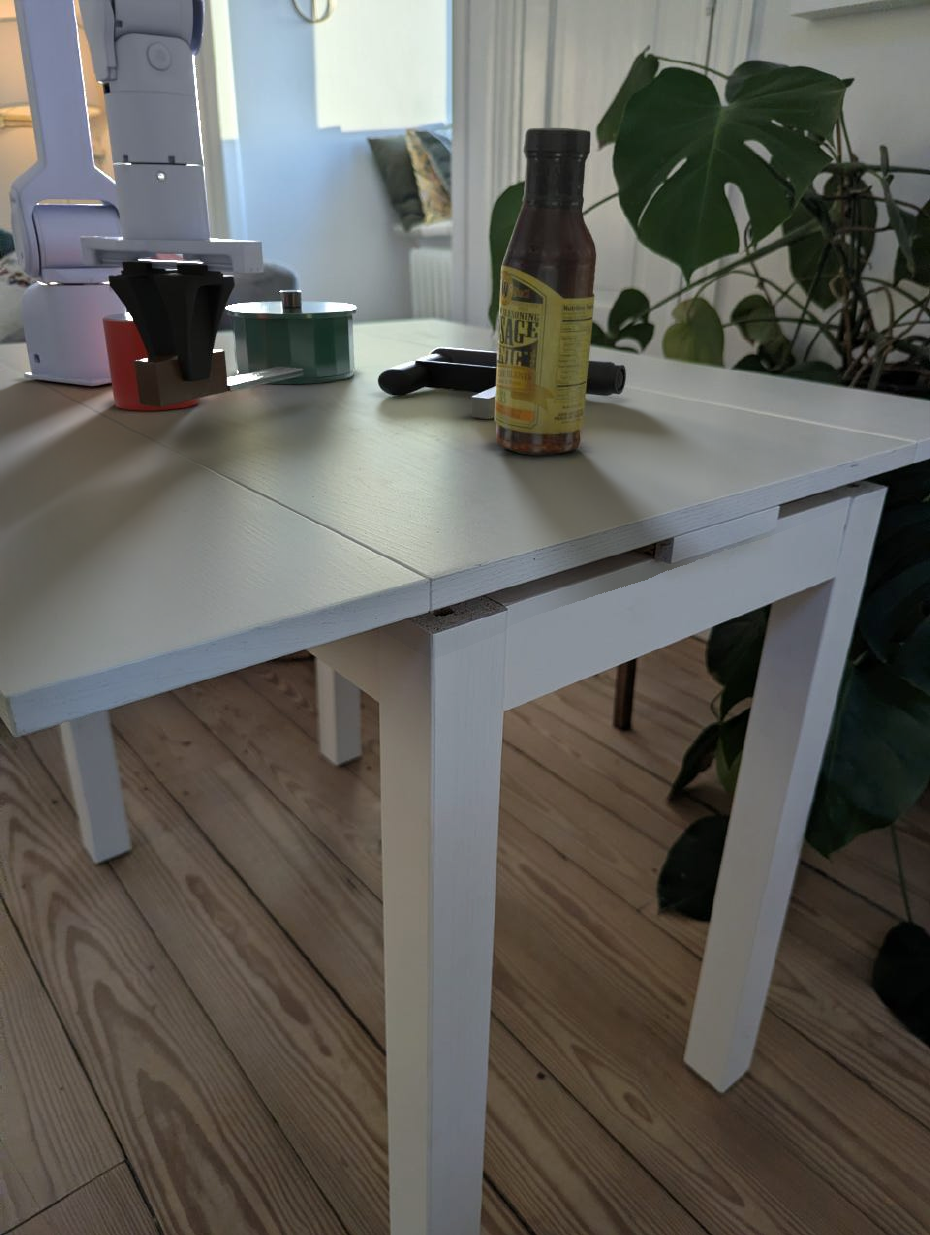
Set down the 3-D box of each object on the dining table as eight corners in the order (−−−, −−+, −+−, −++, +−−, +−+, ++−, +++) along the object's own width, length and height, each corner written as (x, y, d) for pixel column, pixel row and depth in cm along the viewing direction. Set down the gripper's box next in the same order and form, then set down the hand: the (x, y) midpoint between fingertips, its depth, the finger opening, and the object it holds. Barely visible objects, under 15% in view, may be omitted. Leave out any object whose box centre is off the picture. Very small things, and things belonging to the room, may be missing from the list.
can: (96, 405, 76) (82, 317, 73) (157, 392, 82) (147, 310, 79) (158, 413, 73) (147, 322, 71) (217, 400, 79) (209, 314, 76)
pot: (212, 377, 90) (206, 314, 87) (285, 362, 99) (281, 304, 97) (308, 388, 85) (304, 321, 82) (375, 371, 94) (373, 310, 92)
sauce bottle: (480, 441, 66) (486, 130, 58) (558, 435, 68) (574, 134, 60) (517, 462, 60) (528, 122, 52) (600, 455, 62) (624, 127, 54)
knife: (280, 372, 76) (277, 335, 75) (303, 374, 75) (301, 337, 74) (137, 404, 63) (130, 360, 62) (162, 407, 62) (157, 363, 61)
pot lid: (199, 320, 87) (196, 292, 86) (281, 310, 98) (279, 284, 96) (305, 328, 82) (304, 298, 81) (380, 316, 92) (379, 289, 91)
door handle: (557, 396, 69) (632, 357, 81) (344, 373, 78) (441, 341, 90) (556, 439, 70) (630, 394, 83) (347, 411, 79) (443, 375, 92)
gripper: (31, 164, 59) (66, 376, 65) (201, 161, 53) (223, 396, 59) (114, 169, 65) (140, 363, 71) (277, 167, 59) (291, 380, 64)
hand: (183, 377), depth 65 cm, fingers closed on knife, 2 cm apart
